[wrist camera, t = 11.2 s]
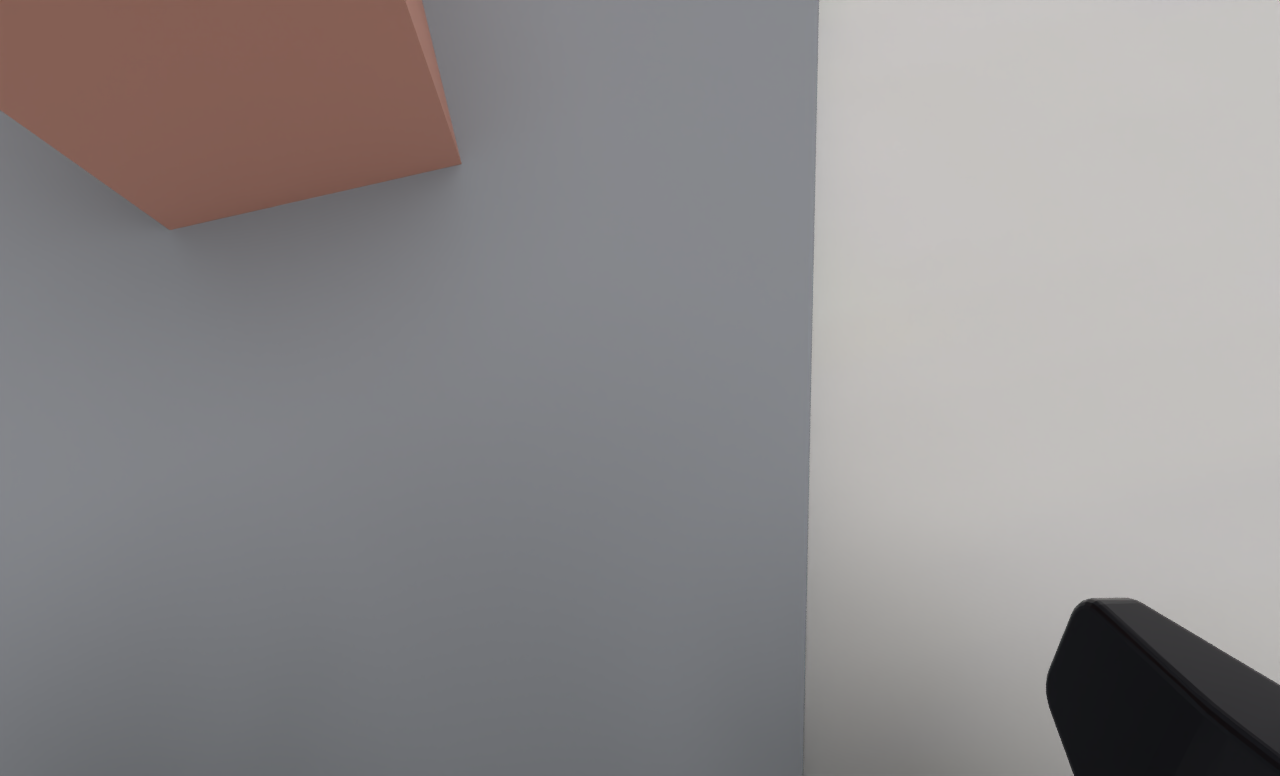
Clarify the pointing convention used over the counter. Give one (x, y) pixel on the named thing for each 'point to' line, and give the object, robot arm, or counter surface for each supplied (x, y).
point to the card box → (228, 97)
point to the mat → (432, 430)
